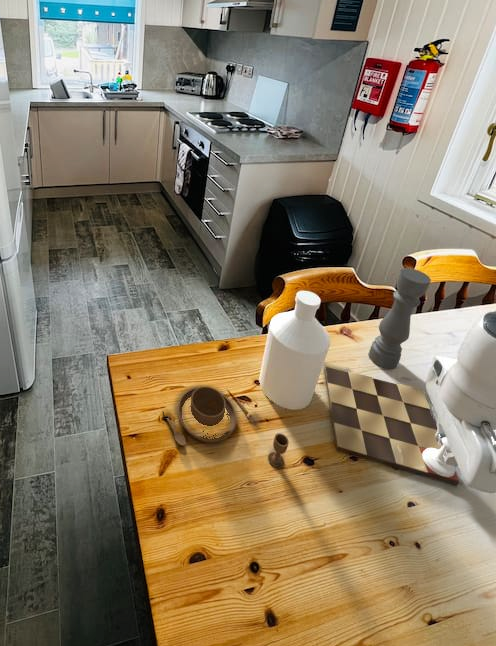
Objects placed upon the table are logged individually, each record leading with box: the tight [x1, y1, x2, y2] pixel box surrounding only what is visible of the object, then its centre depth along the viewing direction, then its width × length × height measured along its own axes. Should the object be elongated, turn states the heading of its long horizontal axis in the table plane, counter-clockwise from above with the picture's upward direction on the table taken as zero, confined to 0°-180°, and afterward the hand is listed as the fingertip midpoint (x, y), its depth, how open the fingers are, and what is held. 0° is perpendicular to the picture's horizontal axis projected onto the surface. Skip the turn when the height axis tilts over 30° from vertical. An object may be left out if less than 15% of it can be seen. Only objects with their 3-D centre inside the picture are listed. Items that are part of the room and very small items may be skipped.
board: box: [323, 366, 460, 487], centre depth 82 cm, size 20×20×1 cm
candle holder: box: [368, 267, 432, 371], centre depth 92 cm, size 6×6×25 cm
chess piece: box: [422, 437, 456, 477], centre depth 71 cm, size 5×5×10 cm
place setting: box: [165, 386, 290, 469], centre depth 77 cm, size 18×20×6 cm
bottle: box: [258, 290, 331, 411], centre depth 84 cm, size 12×12×25 cm
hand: (444, 451), depth 71 cm, fingers closed
